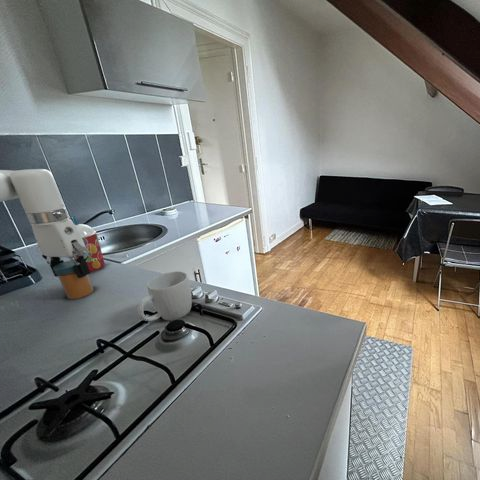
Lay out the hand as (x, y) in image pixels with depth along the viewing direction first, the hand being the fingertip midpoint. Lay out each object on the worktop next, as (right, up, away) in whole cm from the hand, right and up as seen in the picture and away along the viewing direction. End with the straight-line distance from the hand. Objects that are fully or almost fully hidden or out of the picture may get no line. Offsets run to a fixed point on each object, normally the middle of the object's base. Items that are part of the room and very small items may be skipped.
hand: (72, 274), depth 76 cm
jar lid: (0, +3, -1) cm, 3 cm away
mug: (+34, -10, -9) cm, 37 cm away
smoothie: (-10, -1, +19) cm, 21 cm away
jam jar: (0, -6, +2) cm, 7 cm away
